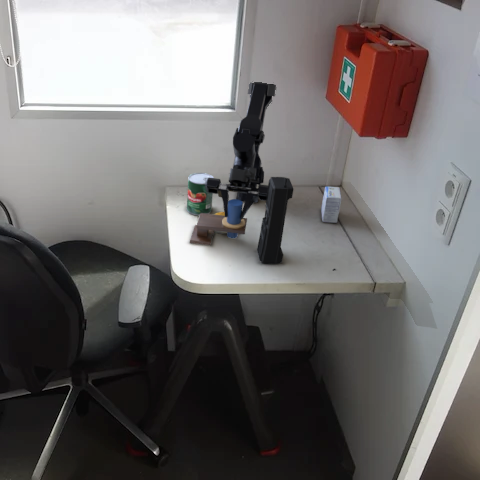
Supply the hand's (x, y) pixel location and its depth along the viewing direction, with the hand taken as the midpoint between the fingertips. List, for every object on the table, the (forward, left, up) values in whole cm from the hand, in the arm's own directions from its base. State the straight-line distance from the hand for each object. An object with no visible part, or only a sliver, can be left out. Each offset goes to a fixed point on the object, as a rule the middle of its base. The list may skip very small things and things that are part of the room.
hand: (233, 218), depth 150 cm
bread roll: (-8, -4, -6) cm, 11 cm away
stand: (-1, -4, -8) cm, 9 cm away
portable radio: (+5, +11, -8) cm, 14 cm away
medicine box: (-22, +28, -8) cm, 37 cm away
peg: (-1, 0, -7) cm, 7 cm away
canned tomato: (-17, -12, -8) cm, 23 cm away
